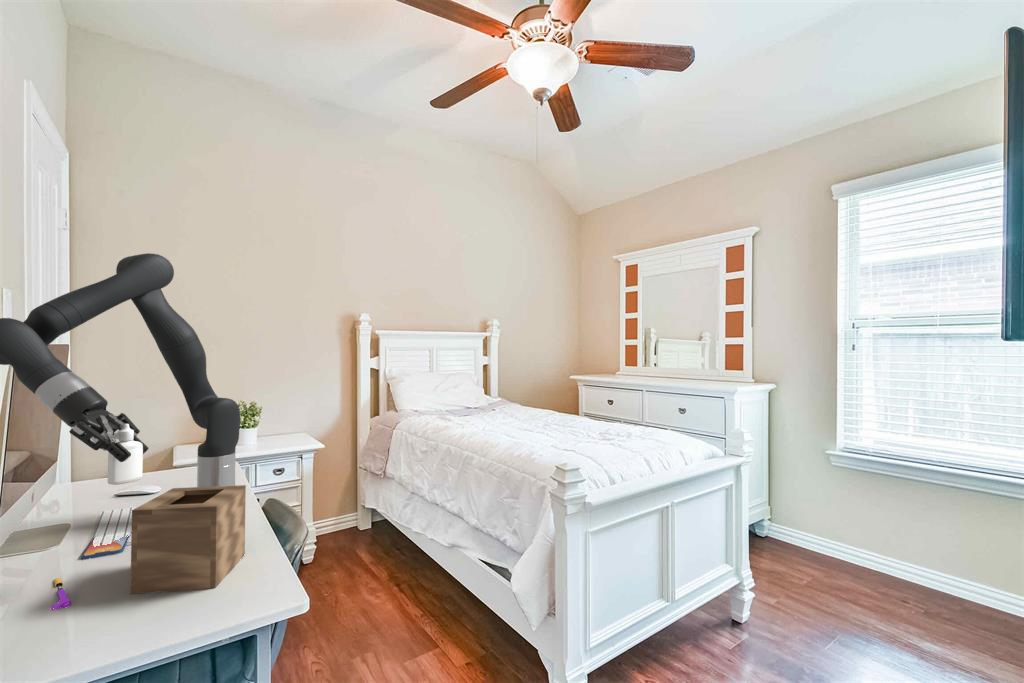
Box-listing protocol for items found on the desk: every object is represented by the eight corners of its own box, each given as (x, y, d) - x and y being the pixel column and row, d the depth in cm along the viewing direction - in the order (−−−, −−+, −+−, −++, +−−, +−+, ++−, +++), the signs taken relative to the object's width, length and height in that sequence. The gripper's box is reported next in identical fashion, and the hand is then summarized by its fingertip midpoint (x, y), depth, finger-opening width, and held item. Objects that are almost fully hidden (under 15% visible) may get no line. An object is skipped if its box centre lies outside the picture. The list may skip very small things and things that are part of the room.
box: (172, 560, 106) (173, 488, 107) (244, 555, 109) (245, 485, 109) (130, 594, 92) (131, 510, 92) (215, 587, 94) (216, 506, 94)
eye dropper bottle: (142, 481, 99) (143, 424, 100) (106, 486, 96) (108, 426, 96) (142, 477, 103) (143, 421, 103) (108, 481, 99) (109, 423, 100)
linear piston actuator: (72, 606, 87) (61, 579, 98) (69, 600, 87) (59, 574, 98) (52, 616, 85) (43, 587, 96) (50, 610, 85) (41, 582, 96)
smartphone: (132, 534, 123) (132, 529, 123) (122, 554, 110) (122, 549, 110) (94, 540, 119) (94, 535, 119) (80, 561, 106) (80, 556, 106)
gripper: (60, 388, 91) (128, 449, 93) (110, 383, 106) (169, 436, 107) (27, 417, 90) (97, 477, 92) (82, 407, 105) (142, 460, 106)
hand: (135, 455), depth 100 cm, fingers closed on eye dropper bottle, 5 cm apart
